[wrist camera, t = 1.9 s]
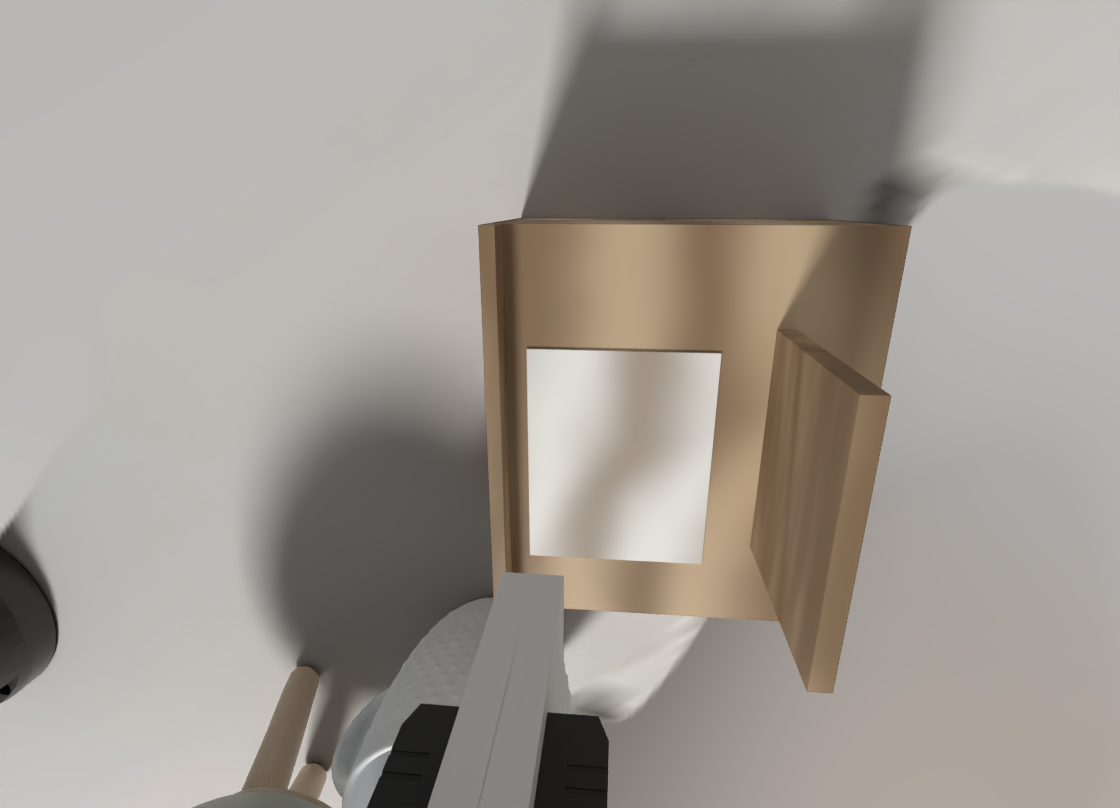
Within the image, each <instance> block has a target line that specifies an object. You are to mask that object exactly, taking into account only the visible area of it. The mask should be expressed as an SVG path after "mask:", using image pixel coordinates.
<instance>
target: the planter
mask: <svg viewBox="0 0 1120 808" xmlns="http://www.w3.org/2000/svg"><path fill="white" fill-rule="evenodd" d="M318 683H319V677H318V674H317V673H316V671H315V670H314V669H312V668H310V667H307V666H302V667H298V668H296V669H295V670H294V671H293V672H292V673H291V674H290V677H289V679H288V681H287V683H286V685H285V687H284V689H283V692H282V694H281V697H280V699H279V702H278V704H277V707H276V709H275V712H274V714H273V717H272V720H271V722H270V725H269V727H268V730H267V732H266V734H265V737H264V739H263V742H262V744H261V746H260V749H259V751H258V753H257V756H256V758H255V760H254V763H253V765H252V767H251V770H250V772H249V775H248V777H247V779H246V782H245V784H244V786H243V788H242V791H240V792H238V793H236V794H233V795H229V796H225V797H221V798H218V799H214V800H211V801H208V802H205V803H203V804H200V805H198V806H195V807H193V808H331V807H330V806H328V805H327V804H325V803H323V802H322V801H319V800H318V799H319V797H320V794H321V791H322V789H323V786H324V784H325V781H326V771H325V769H324V768H323V767H322V766H320V765H319V764H315V763H311V764H307V765H305V766H304V767H303V768H302V769H301V771H300V772H299V774H298V776H297V777H296V779H295V781H294V782H293V784H292V786H291V788H290V789H289V790H288V785H289V782H290V779H291V776H292V772H293V769H294V766H295V763H296V759H297V756H298V753H299V750H300V746H301V743H302V740H303V736H304V732H305V729H306V725H307V722H308V718H309V715H310V711H311V708H312V704H313V700H314V697H315V694H316V690H317V687H318Z"/></svg>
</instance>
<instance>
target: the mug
mask: <svg viewBox="0 0 1120 808" xmlns="http://www.w3.org/2000/svg"><path fill="white" fill-rule="evenodd" d="M493 601H494V597H489V598H481V599H477V600H474V601H471V602H469V603H467V604H464V605H462V606H460V607H459V608H457V609H456V610H454V611H451V612H449V613H448V615H447V616H446V617H444V618H443V619H441V620H440V621H439V622H438V623H437V625H435V626H434V627H433V628H431V629H430V631H429V632H428V634H427V635H426V636H424V637H423V638H422V639H421V641H420V642H419V644H418V646H417V647H416V648H415V649H413V651H412V652H411V654H410V656H409V658H408V659H407V660H406V661H405V662H404V663H403V665H402V667H401V670H400V672H399V673H398V675H397V676H396V677H395V679H394V680H393V682H392V685H391V686H390V687H389V688H387V689H386V690H385V691H383V692H382V693H380V694H379V695H378V696H377V697H375V698H374V699H373V700H372V701H371V702H370V703H369V704H368V705H367V706H366V707H365V708H364V709H363V710H362V711H361V712H360V713H359V714H358V715H357V716H356V717H355V719H354V720H353V721H352V722H351V724H350V725H349V727H348V728H347V730H346V731H345V733H344V734H343V736H342V738H341V740H340V742H339V744H338V746H337V748H336V751H335V753H334V757H333V762H332V778H333V782H334V785H335V787H336V790H337V791H338V793H339V794H340V796H341V797H342V808H367V806H368V804H369V801H370V799H371V796H372V794H373V792H374V789H375V787H376V785H377V782H378V780H379V777H381V775H382V770H383V768H384V765H385V763H386V761H387V758H388V756H389V755H390V754H391V749H392V746H393V744H394V742H395V739H396V737H397V734H398V732H399V730H400V727H401V725H402V724H403V722H404V721H405V720H406V719H407V718H408V717H409V716H410V715H411V714H412V713H413V712H414V710H415V709H416V708H417V707H418V706H419V705H420V704H421V703H423V704H435V705H447V706H459V707H460V704H461V701H462V698H463V694H464V691H465V688H466V685H467V682H468V679H469V676H470V673H471V669H472V666H473V663H474V660H475V657H476V654H477V651H478V648H479V644H480V641H481V638H482V635H483V632H484V629H485V626H486V623H487V619H488V616H489V613H490V610H491V607H492V604H493ZM570 697H571V694H570V691H569V687H568V676H567V674H566V672H565V664H564V666H563V674H562V683H561V691H560V699H559V707H558V713H563V714H571V713H572V709H571V704H570Z"/></svg>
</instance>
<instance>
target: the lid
mask: <svg viewBox="0 0 1120 808" xmlns="http://www.w3.org/2000/svg"><path fill="white" fill-rule="evenodd" d="M911 228H912V226H905V225H731V224H546V223H488V224H482V225H478V234H479V258H480V282H481V306H482V330H483V354H484V379H485V403H486V427H487V451H488V475H489V499H490V523H491V548H492V572H493V596H494V597H495V594H496V591H497V588H498V585H499V582H500V579H501V576H502V572H512V573H528V574H545V575H561V576H564V609H581V610H597V611H614V612H631V613H648V614H664V615H681V616H698V617H715V618H732V619H749V620H765V621H766V620H767V621H779V622H780V624H781V627H782V629H783V632H784V634H785V637H786V639H787V642H788V645H789V647H790V650H791V652H792V655H793V657H794V660H795V662H796V665H797V667H798V670H799V672H800V675H801V677H802V680H803V683H804V685H805V688H806V690H807V692H819V693H833V690H834V685H835V680H836V675H837V670H838V665H839V659H840V654H841V650H842V644H843V639H844V634H845V629H846V624H847V619H848V614H849V609H850V604H851V598H852V593H853V588H854V583H855V578H856V573H857V568H858V563H859V558H860V553H861V548H862V543H863V537H864V532H865V527H866V522H867V517H868V512H869V507H870V501H871V497H872V492H873V486H874V482H875V476H876V471H877V466H878V461H879V456H880V451H881V446H882V441H883V436H884V431H885V426H886V420H887V415H888V410H889V405H890V400H891V396H890V395H889V394H888V393H886V392H885V391H884V390H882V389H881V386H882V380H883V375H884V370H885V365H886V360H887V354H888V348H889V343H890V338H891V333H892V328H893V322H894V317H895V312H896V307H897V302H898V296H899V290H900V286H901V280H902V275H903V270H904V265H905V259H906V254H907V249H908V244H909V238H910V233H911Z"/></svg>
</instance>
